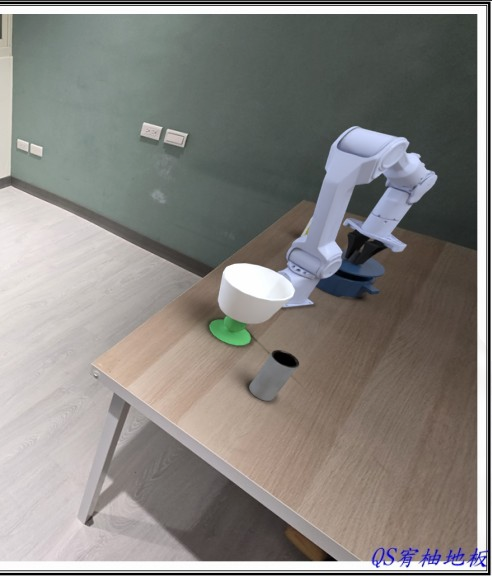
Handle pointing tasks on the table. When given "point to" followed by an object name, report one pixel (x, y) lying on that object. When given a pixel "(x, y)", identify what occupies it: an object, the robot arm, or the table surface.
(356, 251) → the lid
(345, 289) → the pan
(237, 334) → the cup
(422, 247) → the table surface
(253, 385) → the planter
